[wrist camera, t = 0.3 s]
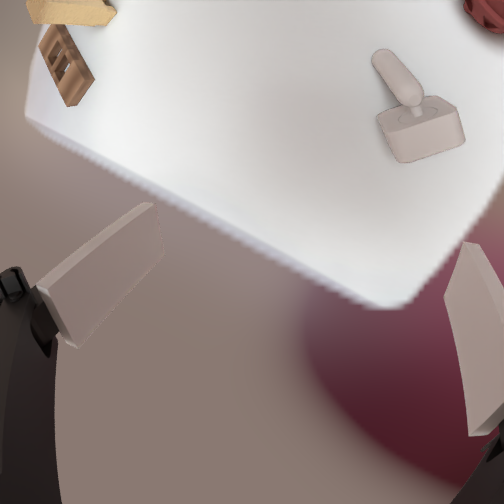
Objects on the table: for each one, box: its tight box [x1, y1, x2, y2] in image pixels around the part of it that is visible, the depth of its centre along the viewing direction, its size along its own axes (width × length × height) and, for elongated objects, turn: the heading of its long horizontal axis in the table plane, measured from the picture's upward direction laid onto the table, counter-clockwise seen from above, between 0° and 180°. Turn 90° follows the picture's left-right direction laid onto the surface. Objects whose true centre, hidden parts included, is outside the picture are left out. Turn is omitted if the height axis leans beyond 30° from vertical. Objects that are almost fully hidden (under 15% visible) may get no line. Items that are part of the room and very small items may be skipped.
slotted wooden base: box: [38, 24, 95, 107], centre depth 39 cm, size 20×7×2 cm, turn 34°
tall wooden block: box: [26, 0, 117, 26], centre depth 27 cm, size 7×4×15 cm, turn 34°
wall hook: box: [372, 49, 465, 163], centre depth 25 cm, size 8×10×10 cm
